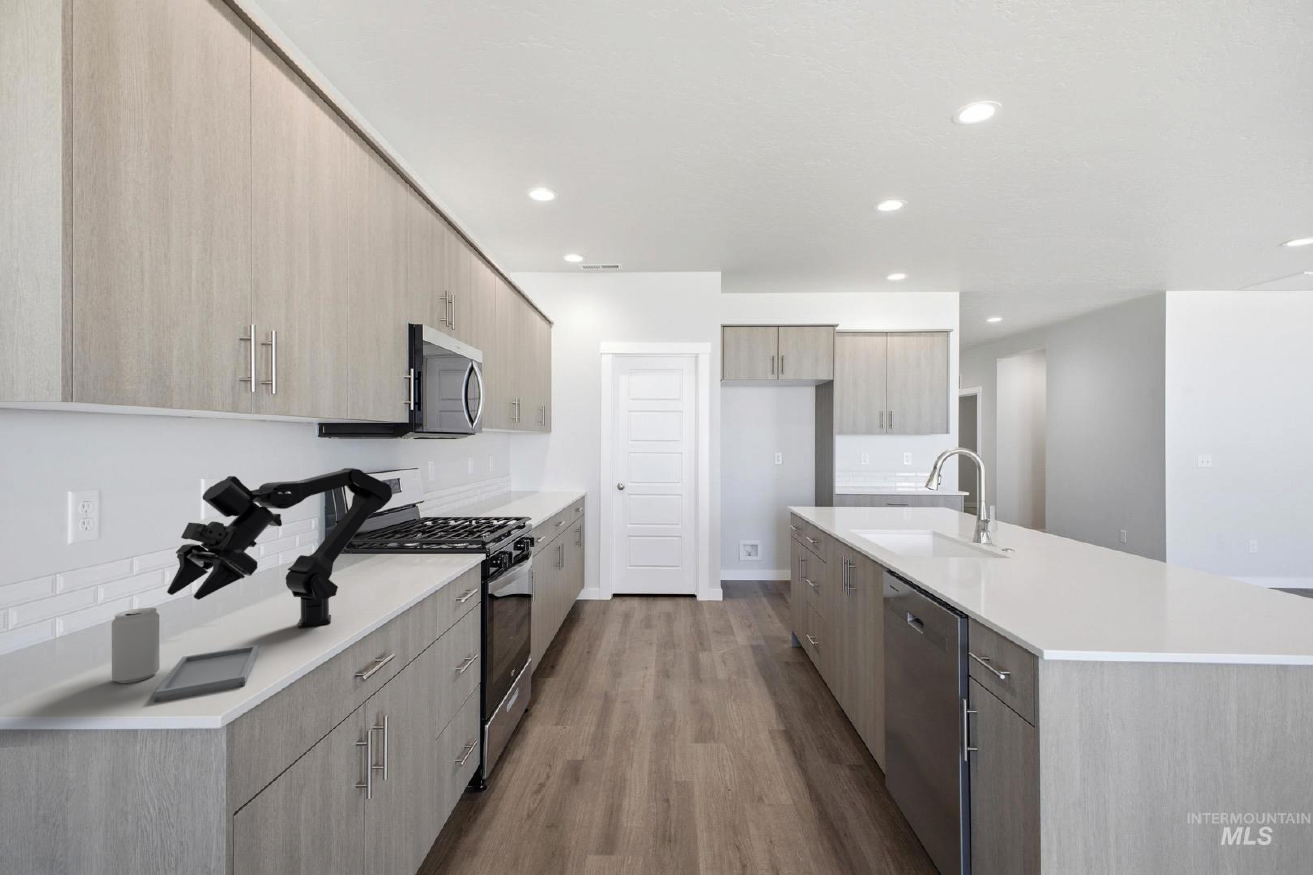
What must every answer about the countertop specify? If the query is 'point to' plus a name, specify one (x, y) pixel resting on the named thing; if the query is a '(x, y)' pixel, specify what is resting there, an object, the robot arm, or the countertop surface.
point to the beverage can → (135, 645)
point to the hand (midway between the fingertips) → (182, 596)
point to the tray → (208, 673)
